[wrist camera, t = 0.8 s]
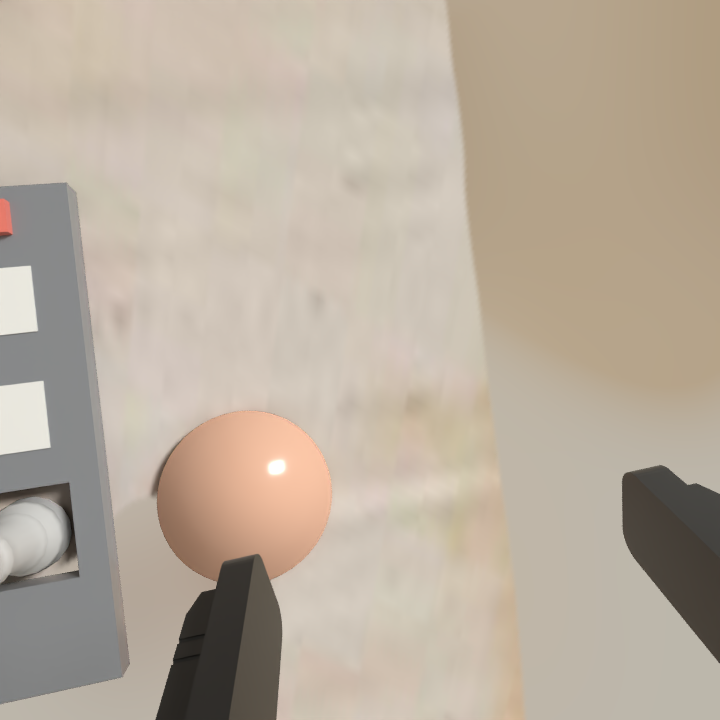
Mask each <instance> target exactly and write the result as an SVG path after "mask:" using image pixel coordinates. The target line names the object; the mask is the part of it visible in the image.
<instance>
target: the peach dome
mask: <svg viewBox="0 0 720 720" xmlns="http://www.w3.org/2000/svg"><path fill="white" fill-rule="evenodd" d="M331 500H332V488H331V479H330V475H329V470H328V467H327V465H326V462H325V459H324V457H323V456H322V454H321V452H320V450H319V448H318V447H317V446H316V444H315V443H314V441H313V440H312V439H311V438H310V437H309V436H308V435H307V434H306V433H305V432H304V431H303V430H302V429H300V428H299V427H298V426H297V425H295V424H293V423H292V422H290V421H288V420H286V419H284V418H282V417H280V416H277V415H274V414H270V413H266V412H260V411H239V412H232V413H228V414H224V415H221V416H218V417H216V418H213V419H211V420H209V421H207V422H205V423H203V424H201V425H200V426H198V427H197V428H195V429H194V430H193V431H191V432H190V433H189V434H188V435H187V436H186V437H185V438H184V439H183V440H182V441H181V442H180V443H179V444H178V445H177V447H176V448H175V449H174V451H173V452H172V454H171V455H170V457H169V458H168V460H167V463H166V465H165V467H164V469H163V472H162V475H161V478H160V482H159V487H158V493H157V510H158V517H159V521H160V526H161V529H162V532H163V534H164V537H165V538H166V541H167V542H168V544H169V546H170V548H171V549H172V550H173V552H174V553H175V554H176V556H177V557H178V558H179V559H180V560H181V561H182V562H183V563H184V564H185V565H187V566H188V567H189V568H191V569H192V570H193V571H195V572H197V573H198V574H200V575H202V576H204V577H206V578H209V579H212V580H214V581H218V577H219V573H220V569H221V565H222V563H223V562H224V561H227V560H231V559H236V558H240V557H245V556H249V555H254V554H259V555H260V556H261V558H262V560H263V563H264V566H265V568H266V571H267V574H268V577H269V580H270V579H273V578H275V577H277V576H280V575H282V574H283V573H285V572H287V571H288V570H290V569H292V568H293V567H294V566H296V565H297V564H298V563H299V562H301V561H302V560H303V559H304V558H305V557H306V556H307V555H308V554H309V553H310V551H311V550H312V549H313V547H314V546H315V545H316V543H317V542H318V540H319V538H320V537H321V535H322V533H323V531H324V528H325V526H326V524H327V520H328V517H329V514H330V508H331Z"/></svg>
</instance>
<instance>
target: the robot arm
mask: <svg viewBox="0 0 720 720" xmlns="http://www.w3.org/2000/svg"><path fill="white" fill-rule="evenodd" d="M622 502H623V503H622V504H623V505H622V506H623V507H622V511H623V534H624V538H625V541H626V544H627V546H628V548H629V550H630V552H631V554H632V555H633V557H634V558H635V560H636V561H637V562H638V563H639V565H640V566H641V567H642V568H643V570H644V571H645V572H646V573H647V575H648V576H649V577H650V578H651V579H652V581H653V582H654V583H655V584H656V585H657V587H658V588H659V589H660V591H661V592H662V593H663V594H664V595H665V597H666V598H667V599H668V600H669V602H670V603H671V604H672V605H673V607H674V608H675V609H676V610H677V611H678V613H679V614H680V615H681V616H682V618H683V619H684V620H685V621H686V623H687V624H688V625H689V626H690V627H691V629H692V630H693V631H694V632H695V634H696V635H697V636H698V637H699V639H700V640H701V641H702V642H703V643H704V644H705V646H706V647H707V648H708V650H709V651H710V652H711V653H712V654H713V656H714V657H715V658H716V659H717V661H718V662H719V663H720V494H718V493H716V492H714V491H712V490H710V489H707V488H705V487H703V486H701V485H699V484H692V485H687V484H686V483H684V482H683V481H682V480H681V479H680V478H679V477H677V476H676V475H675V474H674V473H673V472H672V471H670V470H669V469H668V468H667V467H665V466H662V465H659V466H654V467H650V468H646V469H641V470H636V471H632V472H628V473H626V474H624V476H623V479H622ZM281 646H282V621H281V614H280V609H279V605H278V602H277V599H276V596H275V594H274V591H273V588H272V585H271V582H270V580H269V577H268V574H267V571H266V568H265V566H264V563H263V560H262V558H261V556H260V555H259V554H254V555H249V556H245V557H240V558H236V559H231V560H227V561H224V562H223V563H222V565H221V569H220V573H219V577H218V582H217V586H216V589H214V590H209V591H205V592H202V593H201V594H200V595H199V597H198V598H197V600H196V601H195V603H194V604H193V605H192V607H191V609H190V610H189V611H188V613H187V614H186V617H185V620H184V624H183V627H182V630H181V634H180V637H179V644H177V648H176V651H175V655H174V658H173V665H171V668H170V672H169V675H168V679H167V682H166V685H165V689H164V693H163V696H162V699H161V703H160V706H159V710H158V713H157V717H156V720H276V715H277V701H278V688H279V674H280V660H281Z"/></svg>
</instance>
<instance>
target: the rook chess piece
mask: <svg viewBox="0 0 720 720" xmlns="http://www.w3.org/2000/svg"><path fill="white" fill-rule="evenodd" d="M71 534H72V531H71V525H70V519H69V517H68V516H67V514H66V513H65V511H64V510H63V508H62V507H61V506H59V505H58V504H56V503H55V502H53V501H51V500H50V499H46V498H40V497H29V498H24V499H20V500H17V501H15V502H14V503H12V504H10V505H9V506H7V507H5V508H4V509H2V510H1V511H0V583H2V582H3V581H5V579H6V578H7V577H8V575H11V576H18V577H20V576H25V575H30V574H34V573H38V572H40V571H41V570H43V569H46V568H47V567H49V566H50V565H52V564H53V563H55V562H56V561H58V560H59V559H60V558H61V556H62V555H63V553H64V552H65V551H66V549H67V548H68V546H69V542H70V538H71Z"/></svg>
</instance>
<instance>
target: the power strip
mask: <svg viewBox="0 0 720 720" xmlns="http://www.w3.org/2000/svg"><path fill="white" fill-rule="evenodd" d="M68 482H69V485H70V494H71V503H72V512H73V521H74V530H75V539H76V548H77V557H78V566H79V570H78V571H73V572H67V573H62V574H56V575H51V576H45V577H40V578H34V579H29V580H24V581H18V582H13V583H7V584H2V585H0V704H3V703H8V702H12V701H17V700H21V699H26V698H31V697H35V696H40V695H44V694H48V693H53V692H58V691H62V690H67V689H71V688H76V687H81V686H85V685H90V684H93V683H99V682H103V681H108V680H112V679H117V678H121V677H123V675H124V673H125V671H126V670H127V668H128V666H129V664H130V662H129V653H128V644H127V636H126V627H125V618H124V610H123V601H122V593H121V584H120V575H119V567H118V566H119V565H118V557H117V548H116V539H115V530H114V522H113V513H112V504H111V495H110V487H109V478H108V469H107V460H106V451H105V443H104V434H103V425H102V416H101V408H100V399H99V390H98V381H97V373H96V364H95V355H94V346H93V337H92V329H91V320H90V311H89V302H88V294H87V285H86V276H85V267H84V259H83V250H82V241H81V232H80V223H79V215H78V206H77V197H76V192H75V191H74V190H73V189H72V188H71V187H70V186H69V185H68V184H67V183H52V184H36V185H20V186H4V187H0V493H4V492H10V491H17V490H23V489H30V488H36V487H42V486H49V485H55V484H62V483H68Z"/></svg>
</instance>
